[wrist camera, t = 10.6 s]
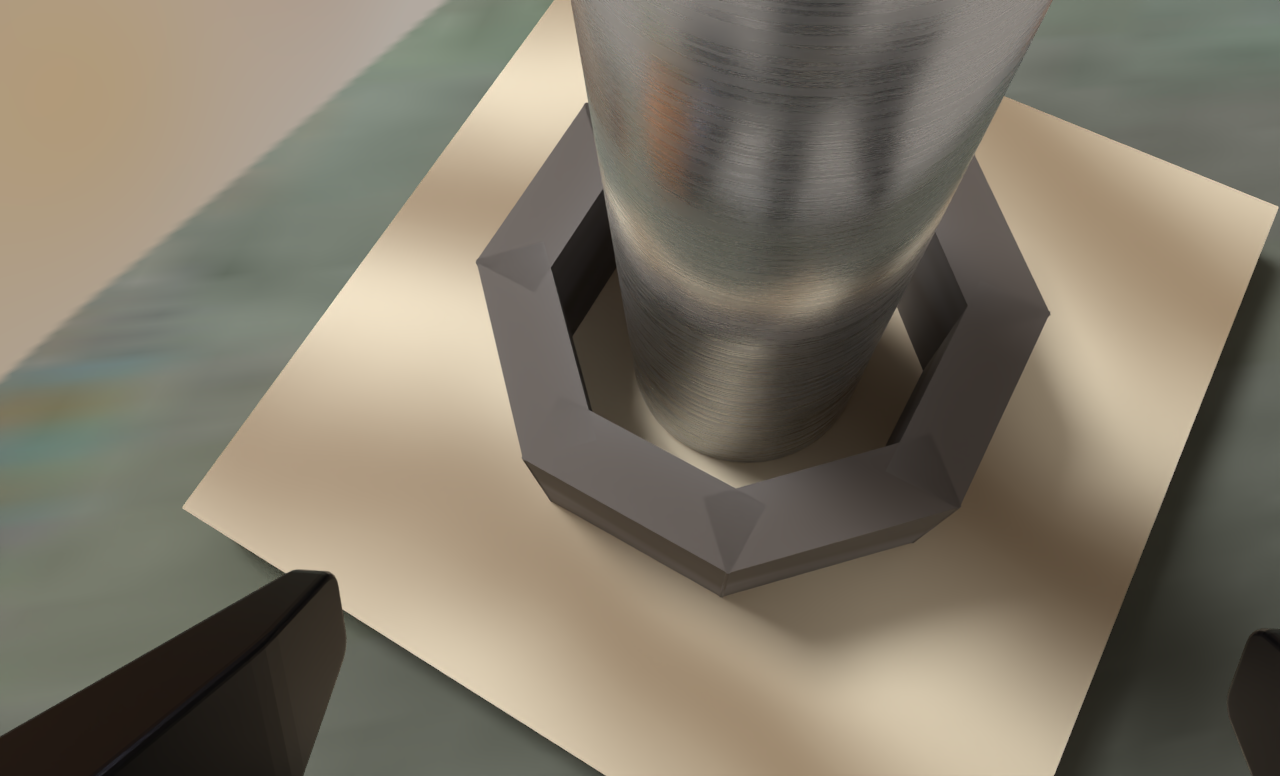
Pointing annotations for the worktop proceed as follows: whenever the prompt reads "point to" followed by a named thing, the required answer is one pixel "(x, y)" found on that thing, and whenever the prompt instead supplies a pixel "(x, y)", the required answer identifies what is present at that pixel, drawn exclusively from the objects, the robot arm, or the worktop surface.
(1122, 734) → the worktop surface
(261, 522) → the socket board
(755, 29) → the pin
